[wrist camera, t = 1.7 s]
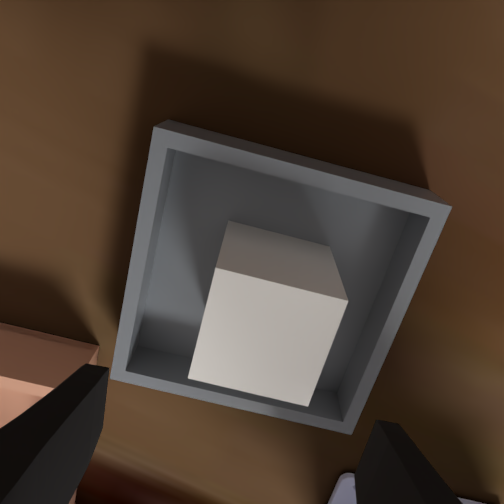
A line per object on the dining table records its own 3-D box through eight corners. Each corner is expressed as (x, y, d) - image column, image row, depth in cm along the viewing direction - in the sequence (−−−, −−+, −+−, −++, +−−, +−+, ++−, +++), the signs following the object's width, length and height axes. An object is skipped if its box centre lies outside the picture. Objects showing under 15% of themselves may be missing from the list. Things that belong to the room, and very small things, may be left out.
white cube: (329, 246, 20) (348, 300, 15) (299, 333, 21) (307, 406, 17) (228, 220, 19) (215, 267, 15) (205, 310, 21) (187, 378, 16)
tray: (430, 190, 19) (452, 206, 17) (343, 398, 23) (351, 435, 21) (168, 119, 18) (153, 126, 16) (126, 347, 23) (110, 378, 20)
